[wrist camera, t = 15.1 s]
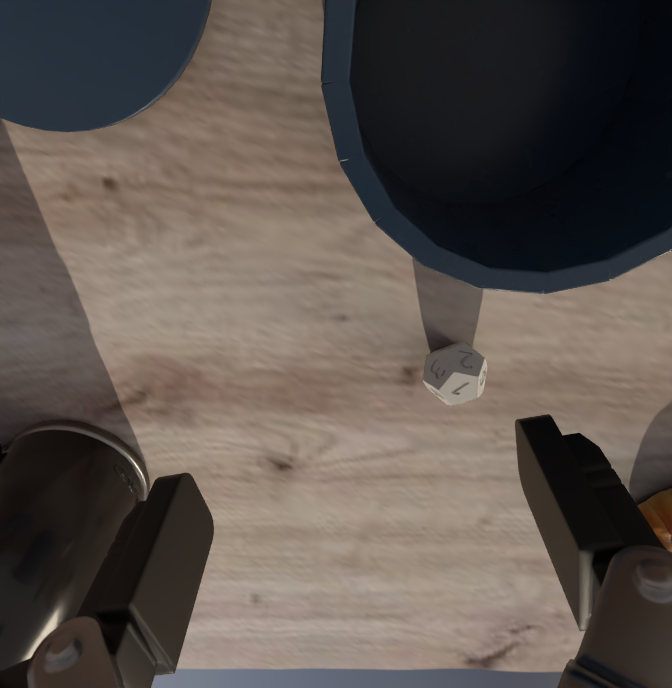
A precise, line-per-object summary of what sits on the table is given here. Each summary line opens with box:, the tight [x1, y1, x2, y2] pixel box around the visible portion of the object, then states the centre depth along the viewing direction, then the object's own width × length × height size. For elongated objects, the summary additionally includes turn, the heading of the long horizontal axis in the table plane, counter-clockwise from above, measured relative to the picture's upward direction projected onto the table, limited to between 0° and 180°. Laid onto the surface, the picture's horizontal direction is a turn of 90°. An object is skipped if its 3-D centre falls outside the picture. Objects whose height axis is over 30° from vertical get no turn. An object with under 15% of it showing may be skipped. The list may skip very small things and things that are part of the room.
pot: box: [321, 0, 672, 294], centre depth 18 cm, size 14×19×10 cm
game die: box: [422, 342, 487, 406], centre depth 28 cm, size 4×4×3 cm
